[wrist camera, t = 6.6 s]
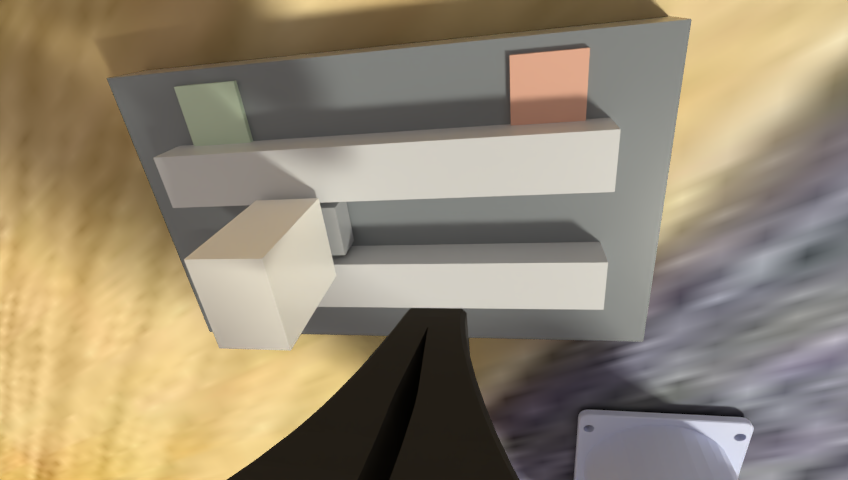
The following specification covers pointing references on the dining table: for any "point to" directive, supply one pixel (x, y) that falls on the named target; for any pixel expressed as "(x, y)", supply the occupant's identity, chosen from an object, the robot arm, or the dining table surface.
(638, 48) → the panel
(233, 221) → the lever
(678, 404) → the dining table surface
